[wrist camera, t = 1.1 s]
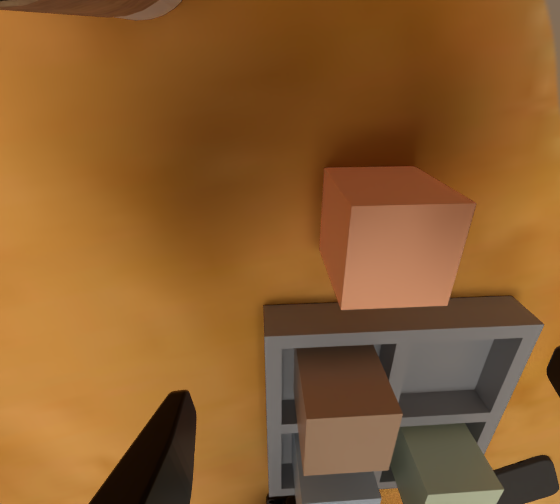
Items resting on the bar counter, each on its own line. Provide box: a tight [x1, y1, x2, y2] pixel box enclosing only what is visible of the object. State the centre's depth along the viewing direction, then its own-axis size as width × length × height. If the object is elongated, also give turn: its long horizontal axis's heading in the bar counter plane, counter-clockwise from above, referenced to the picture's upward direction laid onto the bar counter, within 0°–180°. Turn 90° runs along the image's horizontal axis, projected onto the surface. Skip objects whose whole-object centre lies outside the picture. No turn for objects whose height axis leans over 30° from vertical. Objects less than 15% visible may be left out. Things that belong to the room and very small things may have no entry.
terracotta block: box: [319, 166, 476, 310], centre depth 17 cm, size 5×5×6 cm
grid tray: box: [263, 296, 544, 504], centre depth 24 cm, size 17×17×7 cm
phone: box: [493, 455, 559, 504], centre depth 36 cm, size 7×1×15 cm
